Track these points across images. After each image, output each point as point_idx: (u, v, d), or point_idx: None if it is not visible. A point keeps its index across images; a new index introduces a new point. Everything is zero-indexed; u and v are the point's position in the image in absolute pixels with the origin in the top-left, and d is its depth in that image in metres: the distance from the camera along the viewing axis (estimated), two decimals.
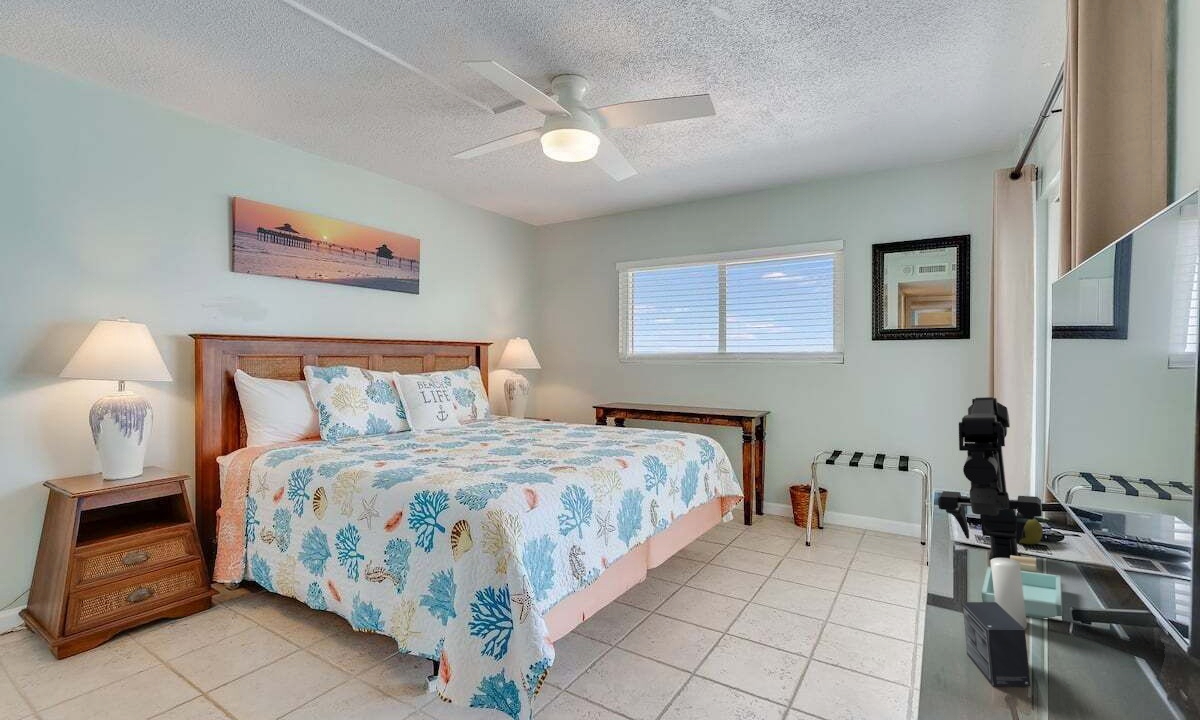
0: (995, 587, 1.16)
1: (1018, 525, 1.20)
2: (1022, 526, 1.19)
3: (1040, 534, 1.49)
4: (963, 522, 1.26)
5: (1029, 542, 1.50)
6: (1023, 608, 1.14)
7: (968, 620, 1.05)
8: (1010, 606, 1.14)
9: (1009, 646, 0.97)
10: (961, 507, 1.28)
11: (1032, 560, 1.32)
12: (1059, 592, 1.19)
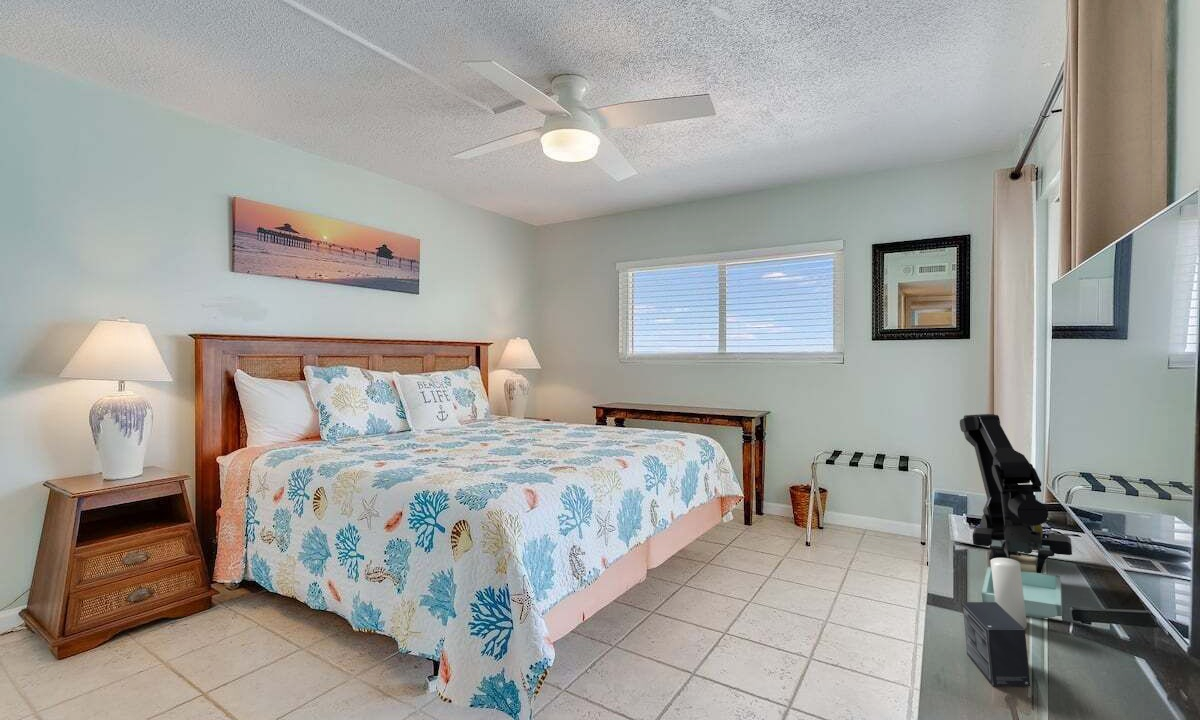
0: (995, 587, 1.16)
1: (1039, 561, 1.30)
2: (1043, 562, 1.29)
3: None
4: None
5: None
6: (1023, 608, 1.14)
7: (968, 620, 1.05)
8: (1010, 606, 1.14)
9: (1009, 646, 0.97)
10: (1004, 544, 1.35)
11: (1032, 560, 1.32)
12: (1059, 592, 1.19)
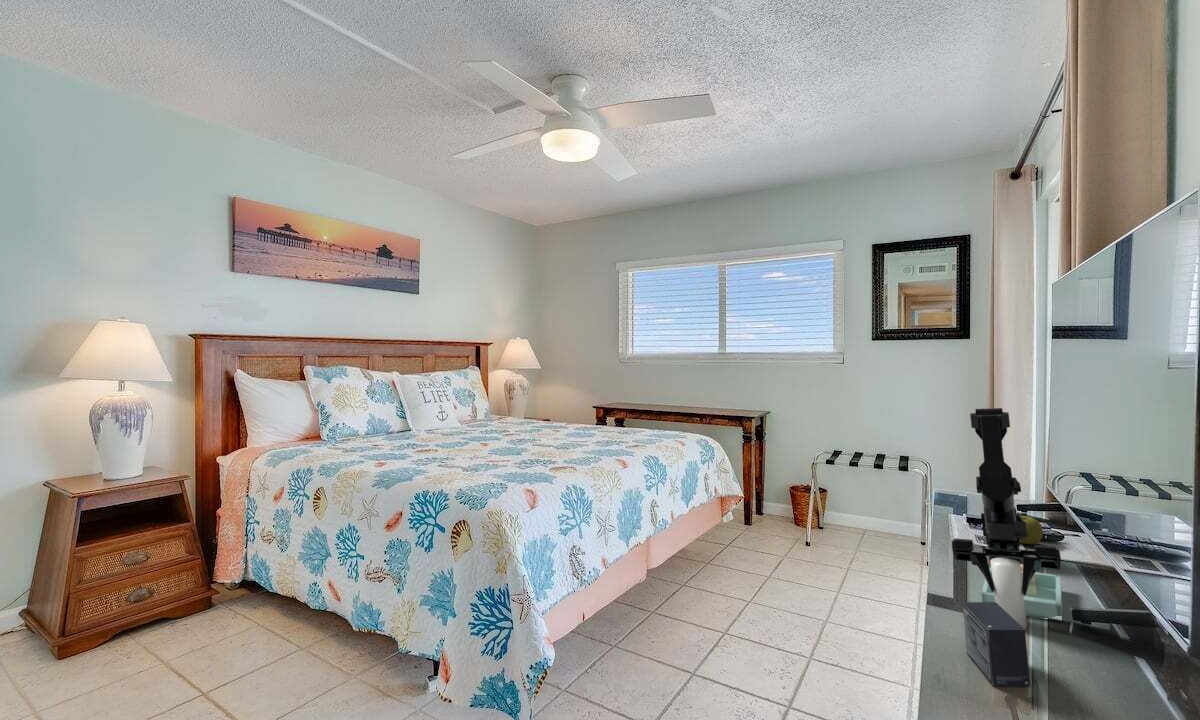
0: (995, 587, 1.16)
1: (1024, 572, 1.15)
2: (1029, 572, 1.14)
3: (1040, 534, 1.49)
4: (988, 569, 1.18)
5: (1029, 542, 1.50)
6: (1023, 608, 1.14)
7: (968, 620, 1.05)
8: (1010, 606, 1.14)
9: (1009, 646, 0.97)
10: None
11: None
12: (1059, 592, 1.19)
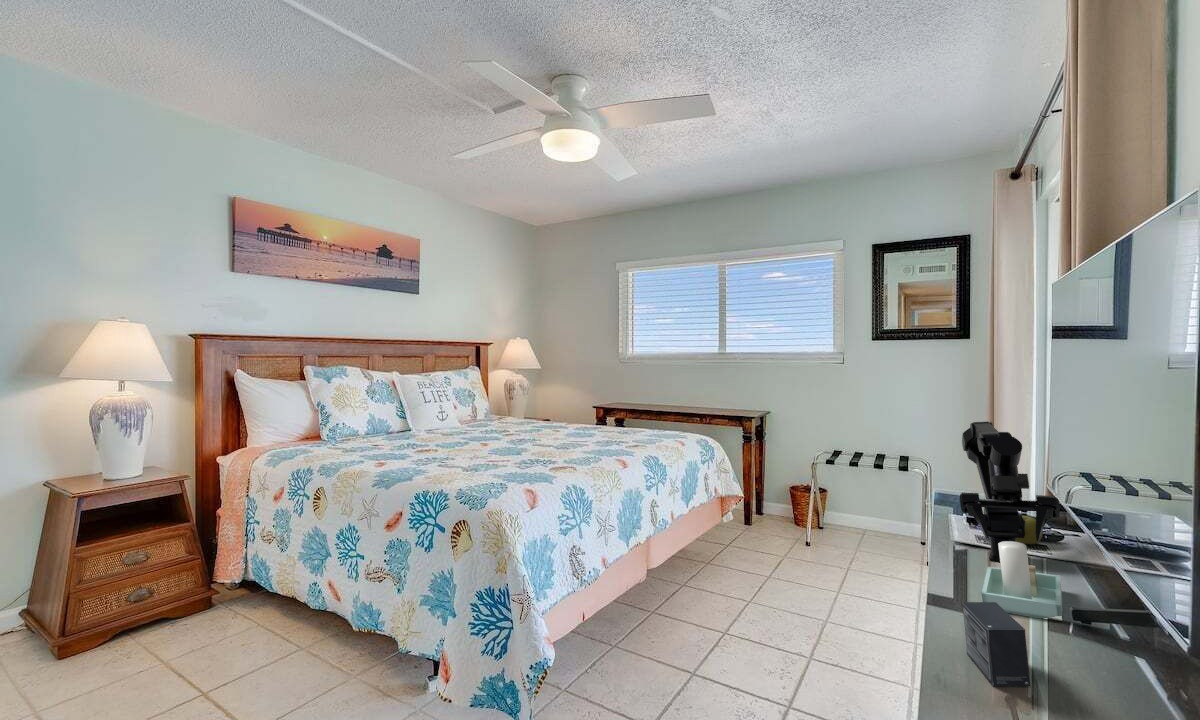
0: (1003, 569, 1.22)
1: (1037, 520, 1.24)
2: (1041, 520, 1.23)
3: None
4: (983, 518, 1.29)
5: (1029, 542, 1.50)
6: (1030, 588, 1.20)
7: (968, 620, 1.05)
8: (1018, 587, 1.20)
9: (1009, 646, 0.97)
10: None
11: (1031, 568, 1.27)
12: (1059, 592, 1.19)
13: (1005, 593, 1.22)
